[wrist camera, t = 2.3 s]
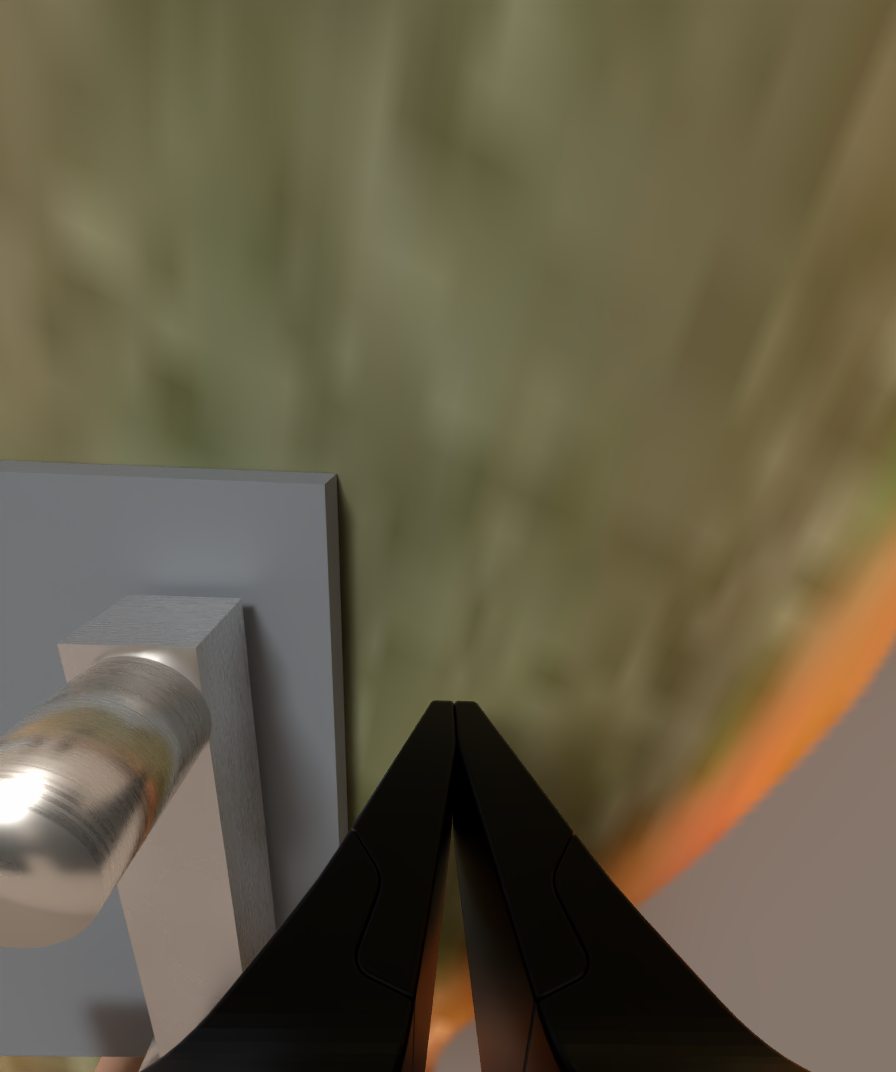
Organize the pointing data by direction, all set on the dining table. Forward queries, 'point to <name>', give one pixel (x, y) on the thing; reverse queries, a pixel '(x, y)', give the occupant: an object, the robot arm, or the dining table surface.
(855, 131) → the dining table surface
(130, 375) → the dining table surface
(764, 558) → the dining table surface
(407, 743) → the robot arm
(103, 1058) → the bracket
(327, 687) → the slate board
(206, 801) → the swing arm
